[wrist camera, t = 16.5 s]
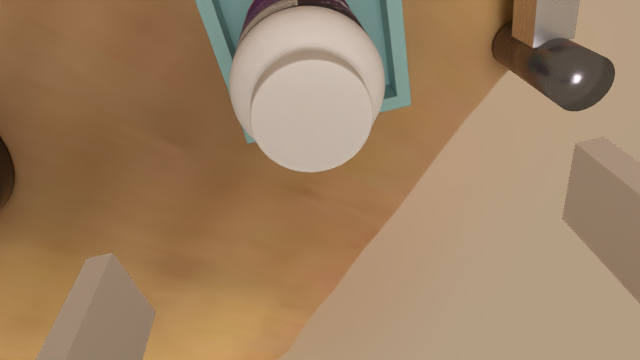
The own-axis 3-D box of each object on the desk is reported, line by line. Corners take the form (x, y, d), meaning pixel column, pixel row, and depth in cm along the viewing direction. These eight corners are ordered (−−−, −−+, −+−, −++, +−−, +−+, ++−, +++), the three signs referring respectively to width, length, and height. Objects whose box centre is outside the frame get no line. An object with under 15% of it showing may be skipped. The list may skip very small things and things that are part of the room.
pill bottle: (371, 52, 31) (430, 145, 19) (283, 105, 33) (287, 219, 21) (318, -53, 27) (351, -15, 15) (219, 14, 29) (181, 95, 17)
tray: (250, 123, 35) (247, 143, 32) (190, -46, 28) (180, -39, 25) (399, 87, 34) (411, 105, 31) (379, -96, 27) (392, -95, 24)
